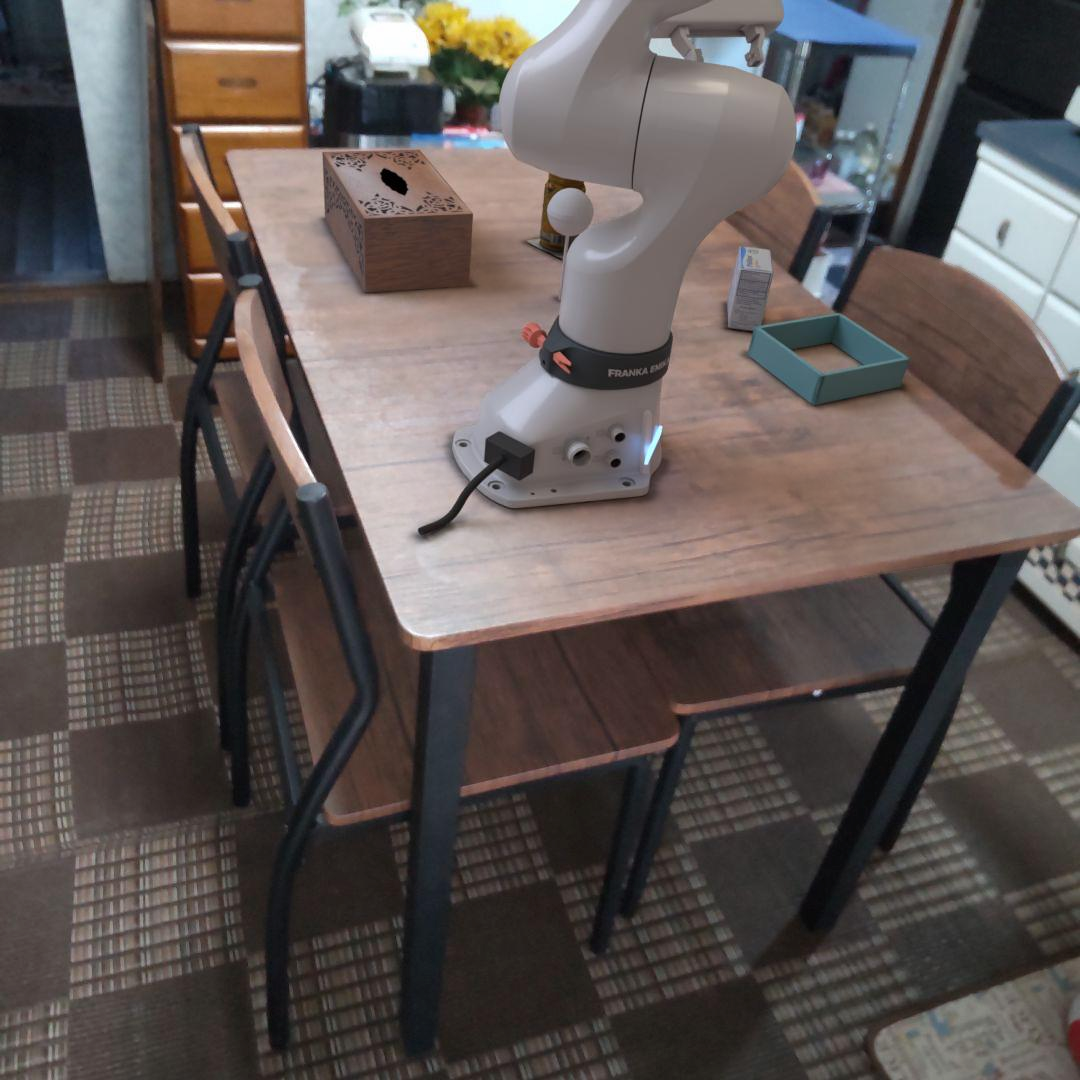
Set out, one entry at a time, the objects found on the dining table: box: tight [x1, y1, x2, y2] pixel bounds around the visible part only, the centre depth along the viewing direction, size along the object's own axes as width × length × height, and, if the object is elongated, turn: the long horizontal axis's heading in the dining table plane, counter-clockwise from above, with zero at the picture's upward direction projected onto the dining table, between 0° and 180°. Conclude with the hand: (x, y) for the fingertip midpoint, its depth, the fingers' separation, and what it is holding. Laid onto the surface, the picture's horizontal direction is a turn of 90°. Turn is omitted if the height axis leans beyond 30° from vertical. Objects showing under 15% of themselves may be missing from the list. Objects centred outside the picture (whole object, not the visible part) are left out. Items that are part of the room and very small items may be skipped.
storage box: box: [747, 312, 911, 406], centre depth 125 cm, size 14×13×4 cm
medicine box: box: [726, 246, 774, 332], centre depth 134 cm, size 8×4×9 cm, turn 172°
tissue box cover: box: [321, 149, 474, 294], centre depth 140 cm, size 26×14×10 cm, turn 21°
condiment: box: [526, 173, 587, 260], centre depth 146 cm, size 7×8×12 cm
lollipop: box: [547, 188, 595, 301], centre depth 131 cm, size 6×6×15 cm
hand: (726, 65), depth 125 cm, fingers open, 8 cm apart
